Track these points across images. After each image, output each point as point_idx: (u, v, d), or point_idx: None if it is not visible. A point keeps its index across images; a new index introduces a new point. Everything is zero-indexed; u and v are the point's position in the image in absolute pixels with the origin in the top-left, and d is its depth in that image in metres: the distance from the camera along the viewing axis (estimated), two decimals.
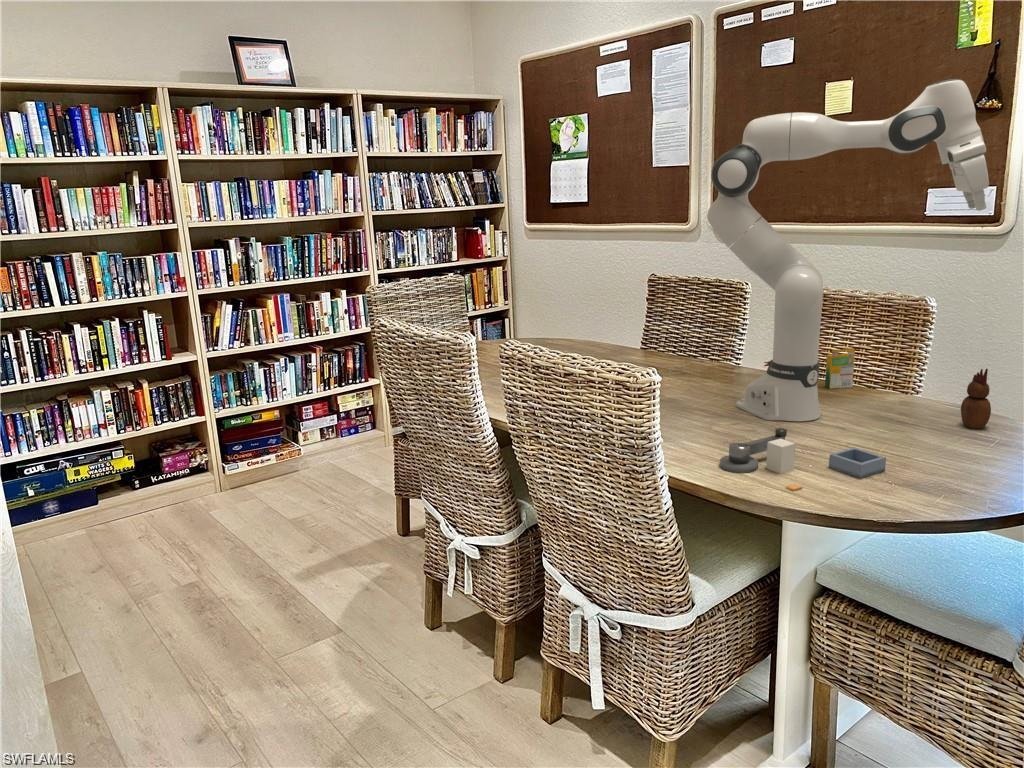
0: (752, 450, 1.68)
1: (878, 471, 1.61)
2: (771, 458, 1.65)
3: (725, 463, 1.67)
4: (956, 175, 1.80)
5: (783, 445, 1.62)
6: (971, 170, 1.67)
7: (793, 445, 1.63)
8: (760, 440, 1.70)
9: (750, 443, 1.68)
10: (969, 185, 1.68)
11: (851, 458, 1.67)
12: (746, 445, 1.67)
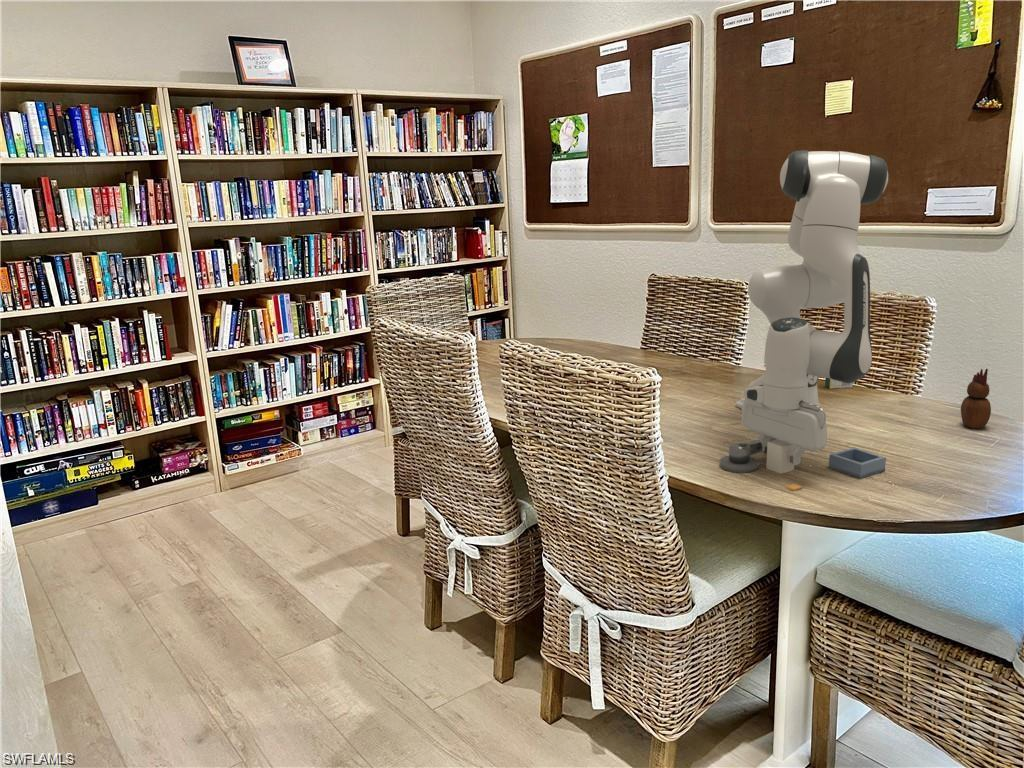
0: (752, 450, 1.68)
1: (878, 471, 1.61)
2: (771, 458, 1.65)
3: (725, 463, 1.67)
4: None
5: (783, 445, 1.62)
6: None
7: (793, 445, 1.63)
8: None
9: (750, 443, 1.68)
10: None
11: (851, 458, 1.67)
12: (746, 445, 1.67)
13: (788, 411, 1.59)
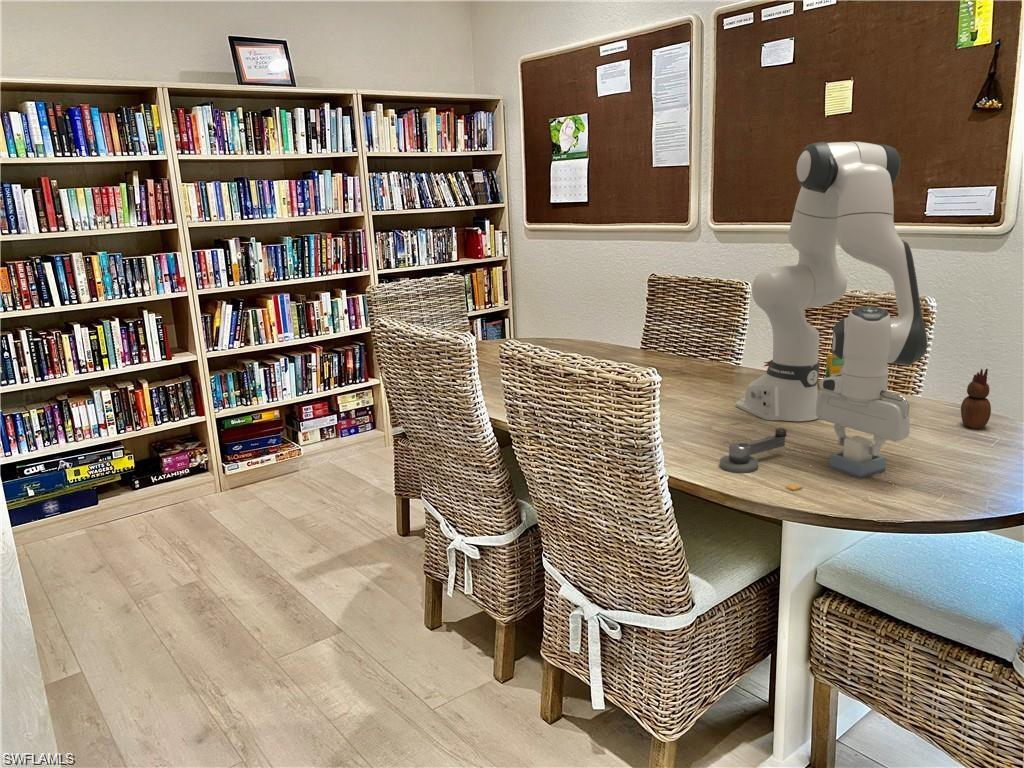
0: (752, 450, 1.68)
1: (878, 471, 1.61)
2: (848, 455, 1.63)
3: (725, 463, 1.67)
4: None
5: (861, 442, 1.61)
6: None
7: (871, 442, 1.61)
8: (760, 440, 1.70)
9: (750, 443, 1.68)
10: None
11: None
12: (746, 445, 1.67)
13: (868, 401, 1.57)
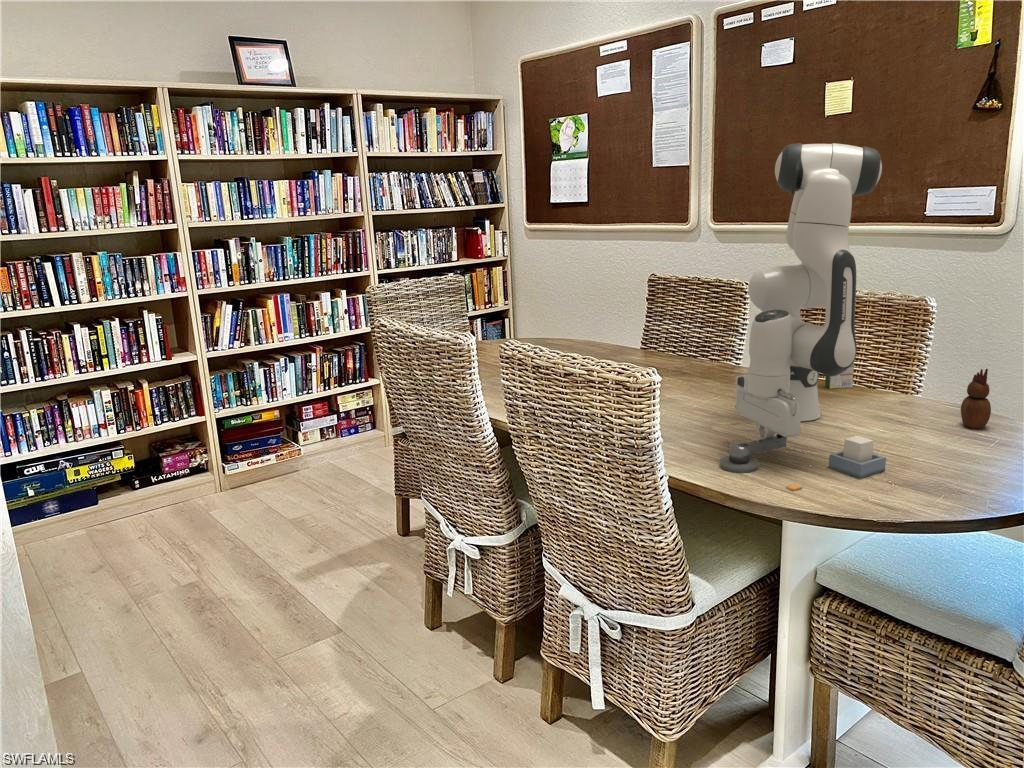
0: (752, 450, 1.68)
1: (878, 471, 1.61)
2: (848, 455, 1.63)
3: (725, 463, 1.67)
4: None
5: (861, 442, 1.61)
6: None
7: (871, 442, 1.61)
8: (761, 440, 1.69)
9: (750, 443, 1.68)
10: None
11: None
12: (746, 445, 1.67)
13: (767, 398, 1.67)
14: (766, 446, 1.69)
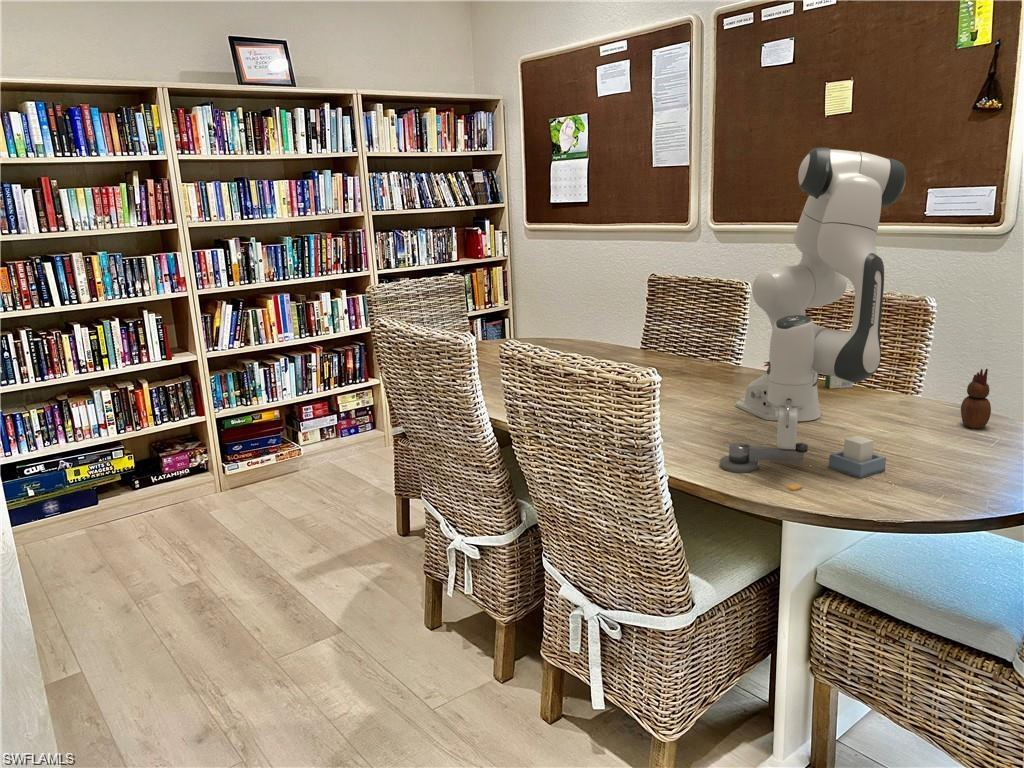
0: (754, 454, 1.65)
1: (878, 471, 1.61)
2: (848, 455, 1.63)
3: (725, 463, 1.67)
4: None
5: (861, 442, 1.61)
6: None
7: (871, 442, 1.61)
8: (770, 448, 1.65)
9: (754, 447, 1.65)
10: None
11: None
12: (747, 447, 1.66)
13: (779, 407, 1.61)
14: (773, 455, 1.64)
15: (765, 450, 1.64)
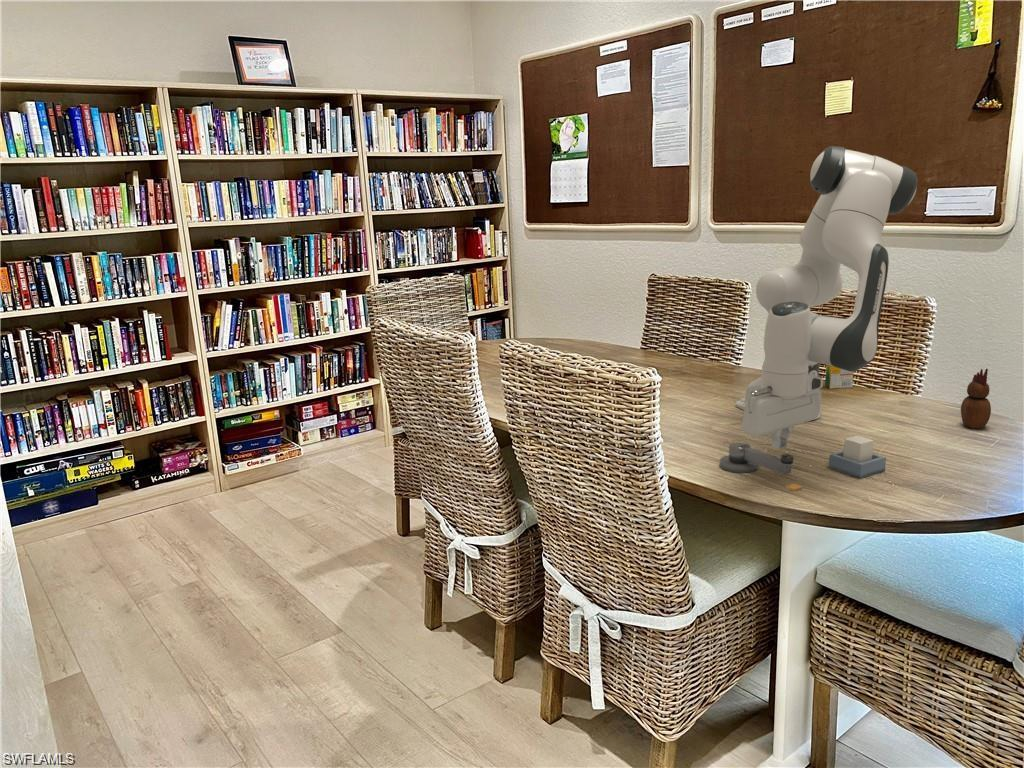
0: (747, 456, 1.64)
1: (878, 471, 1.61)
2: (848, 455, 1.63)
3: (725, 463, 1.67)
4: (776, 413, 1.54)
5: (861, 442, 1.61)
6: None
7: (871, 442, 1.61)
8: (762, 453, 1.61)
9: (750, 449, 1.64)
10: (819, 411, 1.62)
11: None
12: (743, 448, 1.65)
13: None
14: (762, 461, 1.61)
15: (756, 454, 1.62)
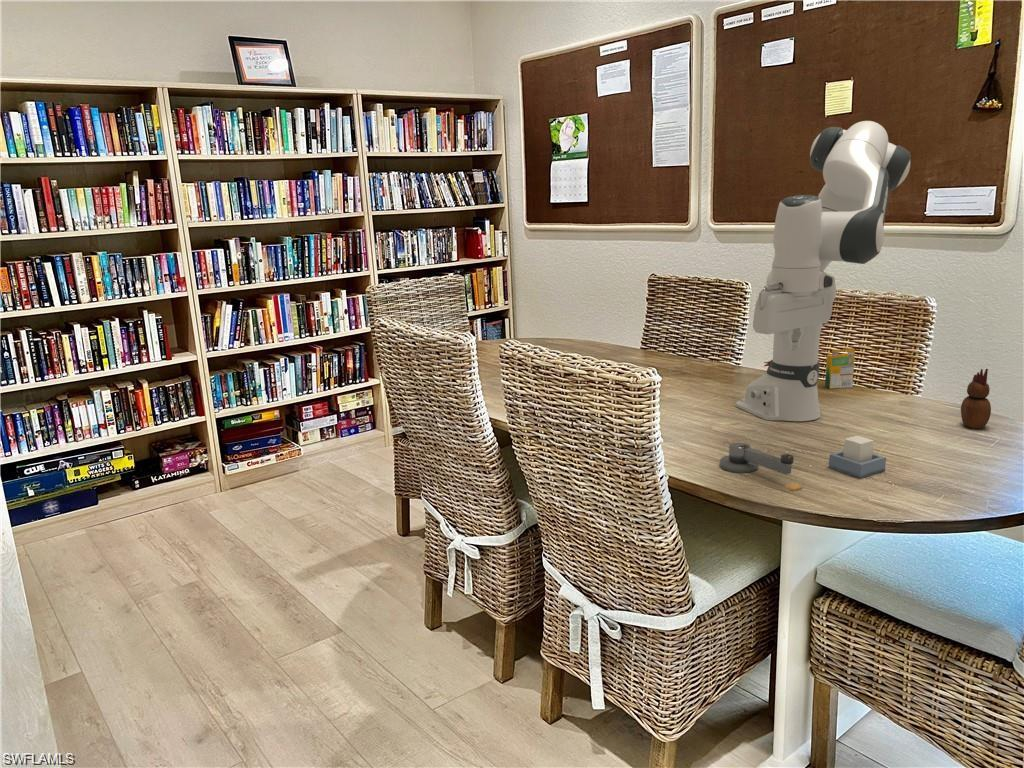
0: (747, 456, 1.64)
1: (878, 471, 1.61)
2: (848, 455, 1.63)
3: (725, 463, 1.67)
4: (788, 311, 1.48)
5: (861, 442, 1.61)
6: None
7: (871, 442, 1.61)
8: (762, 453, 1.61)
9: (750, 449, 1.64)
10: None
11: None
12: (743, 448, 1.65)
13: None
14: (762, 461, 1.61)
15: (756, 454, 1.62)
